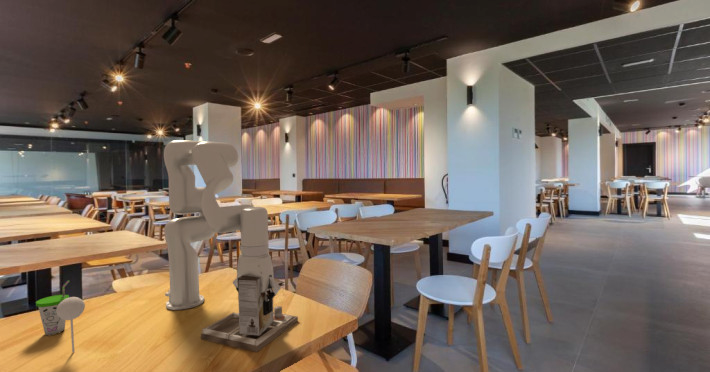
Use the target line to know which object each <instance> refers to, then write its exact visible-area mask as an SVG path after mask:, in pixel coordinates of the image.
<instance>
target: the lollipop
mask: <svg viewBox="0 0 710 372" xmlns="http://www.w3.org/2000/svg"><path fill="white" fill-rule="evenodd" d="M85 308H86V304H85V301H84V300H83V299H81V298H80V297H77V296H69V298H66V299H64V300H63V301H62V302H60V304H59V305H58V307H57V309H56V313H57V315H58V316H59V318H61V319H63V320H66V321H70V334H71V335H70V336H71V351H72V352H73V353H75V337H74V324H73V323H74V321H73V320H75V319H77V318H79V317H80V316H81V315H82V314H83V313H84V311H85ZM72 352H71V353H72Z"/></svg>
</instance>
